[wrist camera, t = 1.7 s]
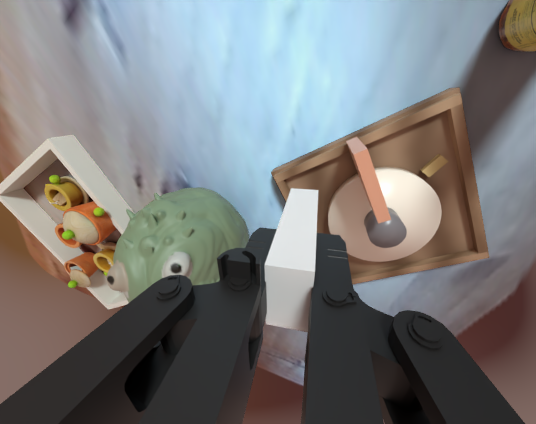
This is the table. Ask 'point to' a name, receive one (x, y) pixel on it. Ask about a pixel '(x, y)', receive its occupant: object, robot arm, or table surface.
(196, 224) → the green monster figurine
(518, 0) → the sauce bottle
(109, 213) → the tea tray rim
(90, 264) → the toy tea set
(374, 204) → the dial
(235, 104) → the table surface
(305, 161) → the brown wooden tray
